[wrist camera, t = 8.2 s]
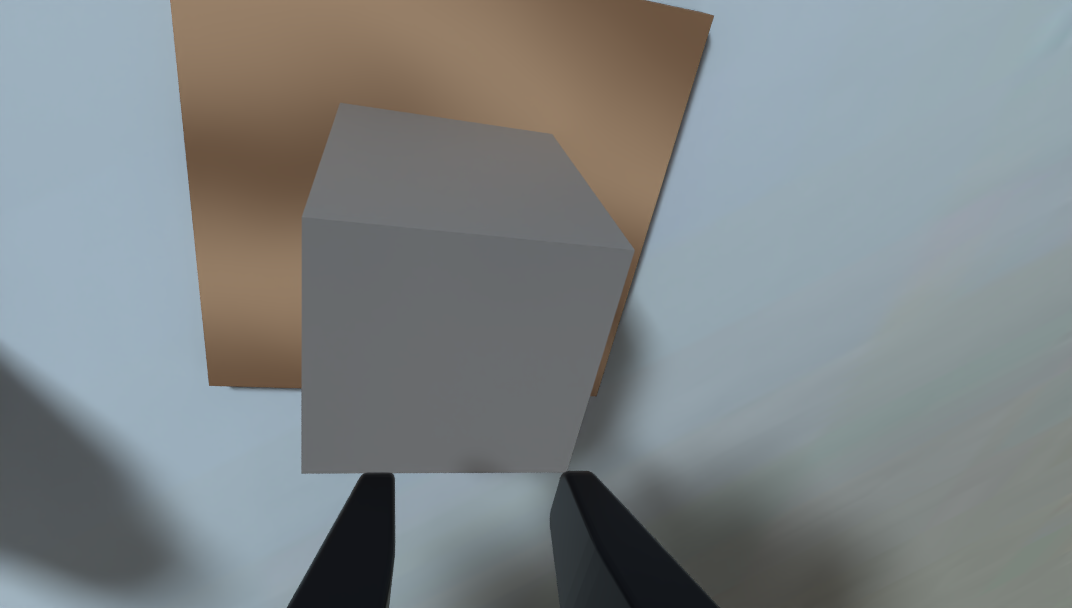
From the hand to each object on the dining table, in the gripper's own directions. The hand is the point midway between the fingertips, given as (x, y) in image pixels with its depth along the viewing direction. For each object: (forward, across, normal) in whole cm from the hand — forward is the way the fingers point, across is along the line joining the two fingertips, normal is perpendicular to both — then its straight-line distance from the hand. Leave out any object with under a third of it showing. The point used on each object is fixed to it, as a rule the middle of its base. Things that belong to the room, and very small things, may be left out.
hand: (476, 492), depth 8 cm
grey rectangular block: (+9, 0, 0) cm, 9 cm away
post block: (+10, 0, 0) cm, 10 cm away
